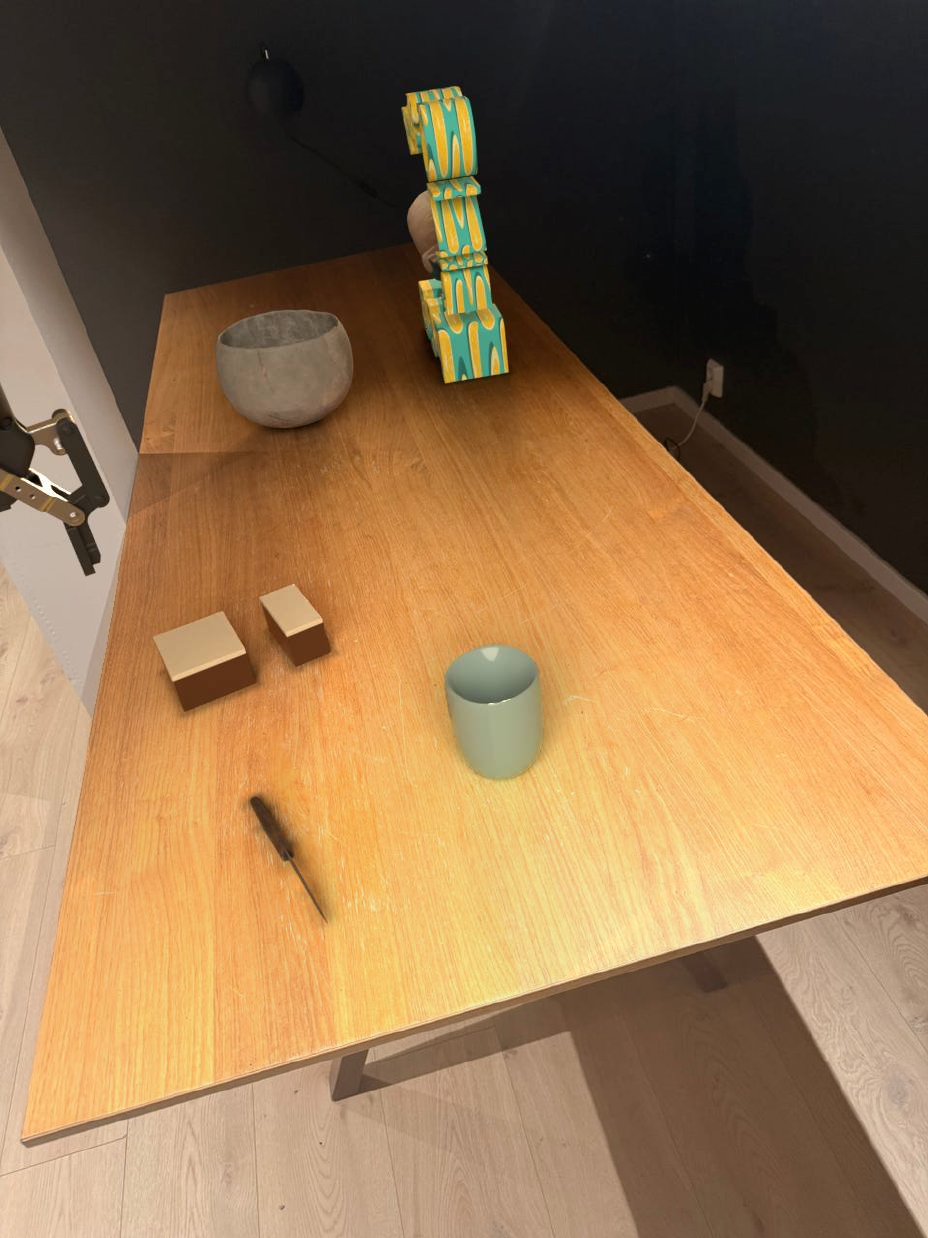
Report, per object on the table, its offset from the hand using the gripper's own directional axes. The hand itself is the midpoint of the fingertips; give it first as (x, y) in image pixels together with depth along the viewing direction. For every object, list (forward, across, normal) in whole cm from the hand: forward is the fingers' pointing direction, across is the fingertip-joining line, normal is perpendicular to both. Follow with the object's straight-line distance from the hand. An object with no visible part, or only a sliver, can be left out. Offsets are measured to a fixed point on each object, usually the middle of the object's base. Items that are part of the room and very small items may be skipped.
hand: (22, 592), depth 61 cm
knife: (+28, -10, +5) cm, 30 cm away
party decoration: (+28, -75, -88) cm, 119 cm away
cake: (+28, -11, -23) cm, 38 cm away
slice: (+28, -21, -23) cm, 42 cm away
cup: (+28, -30, +5) cm, 42 cm away
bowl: (+28, -41, -79) cm, 93 cm away
